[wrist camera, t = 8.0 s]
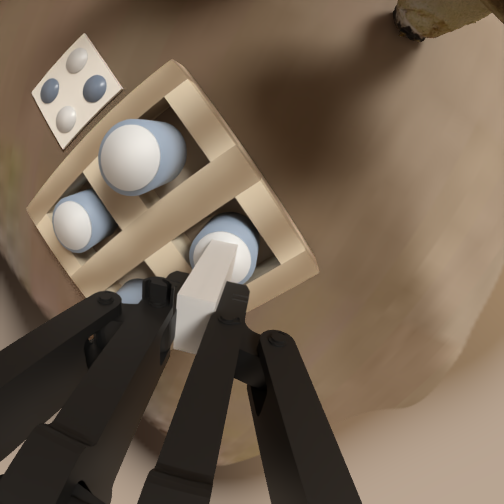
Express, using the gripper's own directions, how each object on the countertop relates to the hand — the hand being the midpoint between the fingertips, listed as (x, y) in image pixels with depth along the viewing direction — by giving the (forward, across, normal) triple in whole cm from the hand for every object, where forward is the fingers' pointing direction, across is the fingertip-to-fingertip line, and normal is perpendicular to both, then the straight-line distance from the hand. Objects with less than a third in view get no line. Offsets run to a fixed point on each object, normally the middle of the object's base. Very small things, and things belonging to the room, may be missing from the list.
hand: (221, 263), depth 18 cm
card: (+4, -15, +10) cm, 18 cm away
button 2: (+2, -5, +5) cm, 8 cm away
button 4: (+4, 0, 0) cm, 4 cm away
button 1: (+4, -11, 0) cm, 11 cm away
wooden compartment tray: (+5, -5, 0) cm, 7 cm away
